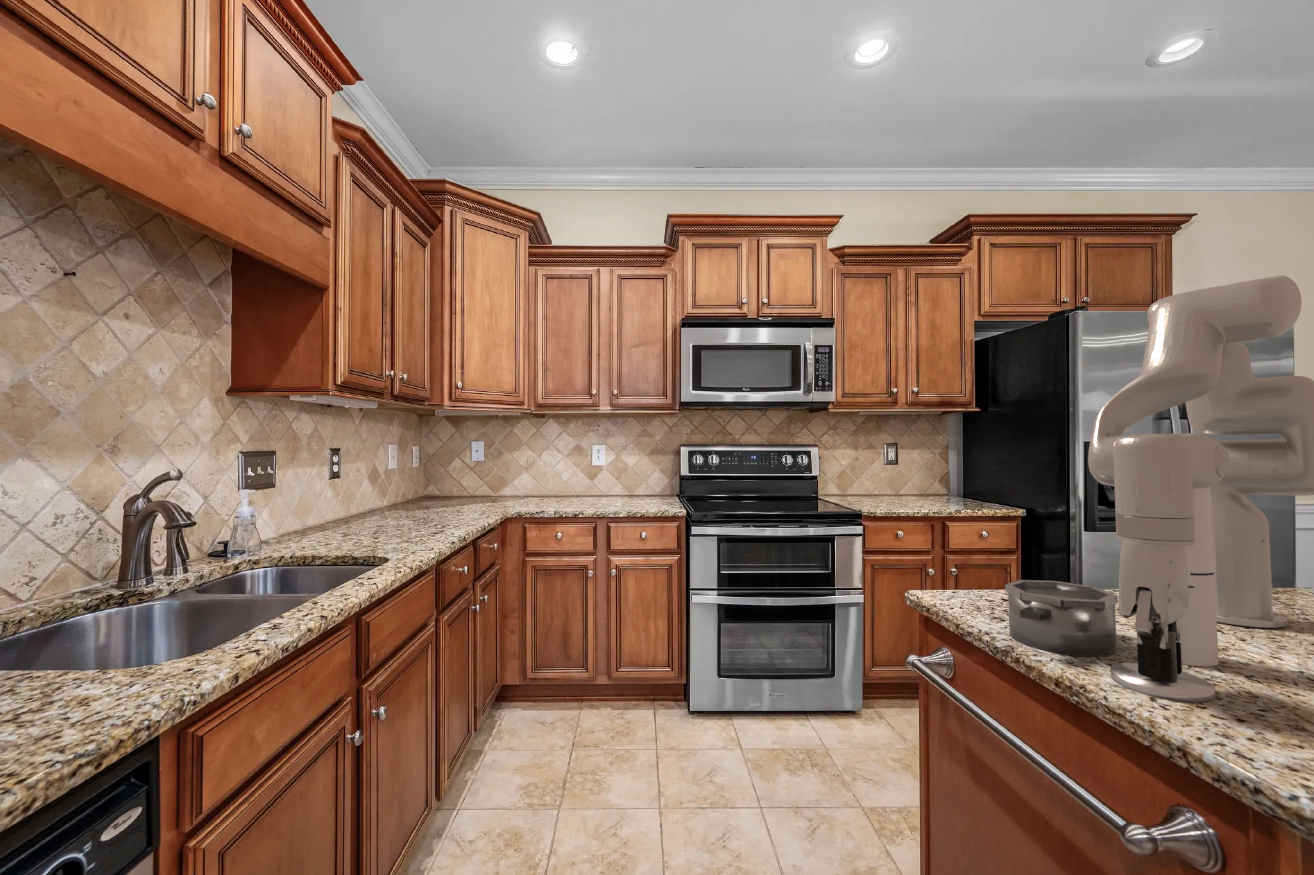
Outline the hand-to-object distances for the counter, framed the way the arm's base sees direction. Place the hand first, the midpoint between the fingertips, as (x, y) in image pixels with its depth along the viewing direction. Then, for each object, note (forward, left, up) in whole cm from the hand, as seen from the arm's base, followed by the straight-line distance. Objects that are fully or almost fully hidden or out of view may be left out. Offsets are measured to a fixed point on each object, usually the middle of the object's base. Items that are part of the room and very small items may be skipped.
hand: (1160, 673), depth 70 cm
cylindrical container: (-15, -1, -2) cm, 15 cm away
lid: (0, 0, -2) cm, 2 cm away
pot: (-9, -14, -2) cm, 17 cm away
